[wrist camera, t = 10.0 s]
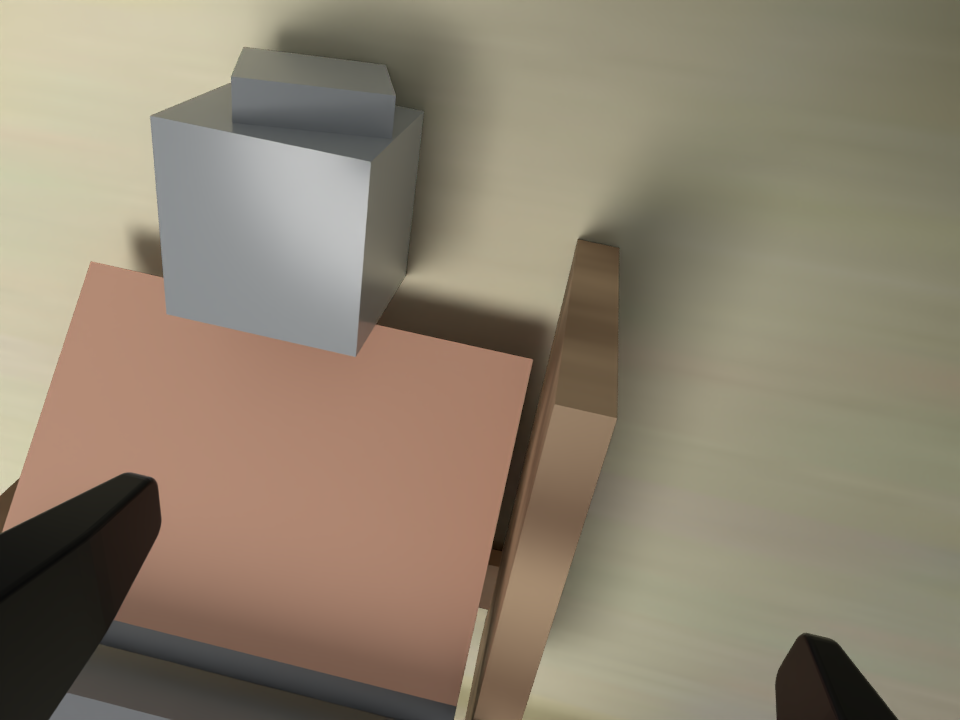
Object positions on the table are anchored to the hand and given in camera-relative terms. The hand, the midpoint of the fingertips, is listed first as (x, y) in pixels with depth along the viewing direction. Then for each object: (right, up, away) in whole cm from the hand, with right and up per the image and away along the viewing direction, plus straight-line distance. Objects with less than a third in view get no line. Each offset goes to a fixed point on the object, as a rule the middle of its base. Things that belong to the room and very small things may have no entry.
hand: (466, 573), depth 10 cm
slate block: (-5, +5, +11) cm, 13 cm away
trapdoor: (-7, -3, +13) cm, 15 cm away
